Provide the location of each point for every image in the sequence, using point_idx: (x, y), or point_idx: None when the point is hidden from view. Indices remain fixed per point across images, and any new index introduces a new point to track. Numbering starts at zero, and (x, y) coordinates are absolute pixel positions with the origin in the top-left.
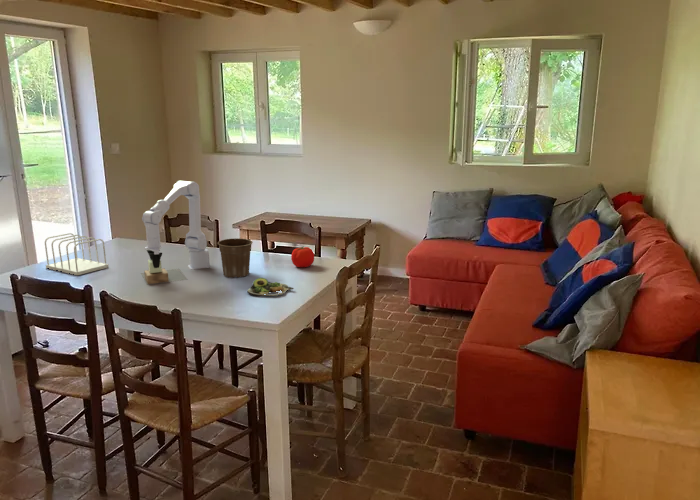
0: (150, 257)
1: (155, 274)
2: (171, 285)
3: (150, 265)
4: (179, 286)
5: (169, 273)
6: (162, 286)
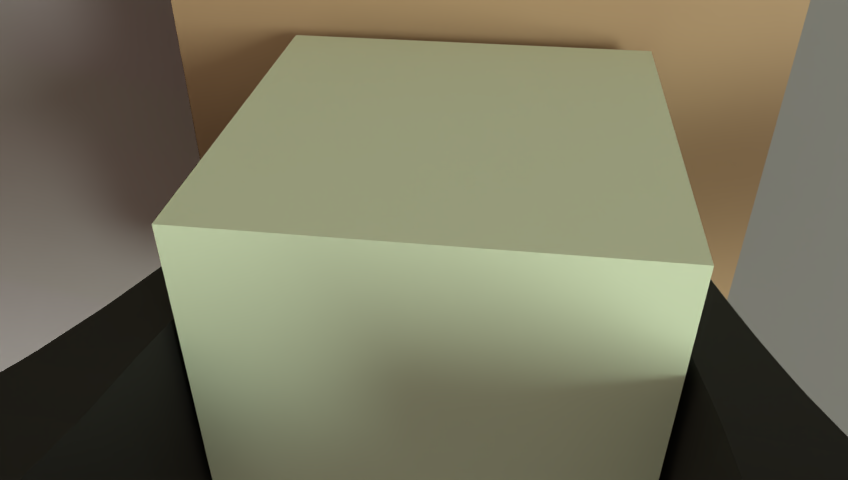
0: (727, 459)
1: (215, 135)
2: (102, 244)
3: (209, 177)
4: (23, 320)
5: (814, 388)
6: (74, 107)
